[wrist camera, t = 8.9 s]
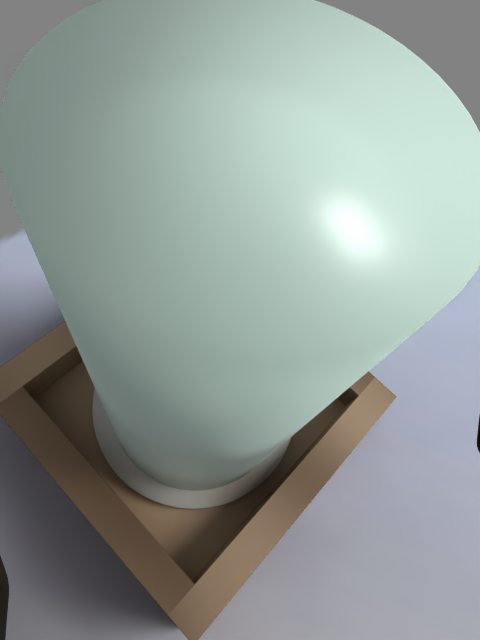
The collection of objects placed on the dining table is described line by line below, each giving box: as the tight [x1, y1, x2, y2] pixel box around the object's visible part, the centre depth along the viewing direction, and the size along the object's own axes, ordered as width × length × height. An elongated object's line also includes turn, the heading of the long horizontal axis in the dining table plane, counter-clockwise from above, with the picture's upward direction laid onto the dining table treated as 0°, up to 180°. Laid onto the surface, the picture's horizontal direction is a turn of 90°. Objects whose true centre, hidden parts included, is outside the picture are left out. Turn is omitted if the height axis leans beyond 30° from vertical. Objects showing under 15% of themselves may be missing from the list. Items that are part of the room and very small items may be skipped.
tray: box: [0, 321, 396, 640], centre depth 16 cm, size 10×10×3 cm
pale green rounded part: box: [0, 0, 480, 491], centre depth 11 cm, size 6×6×12 cm
